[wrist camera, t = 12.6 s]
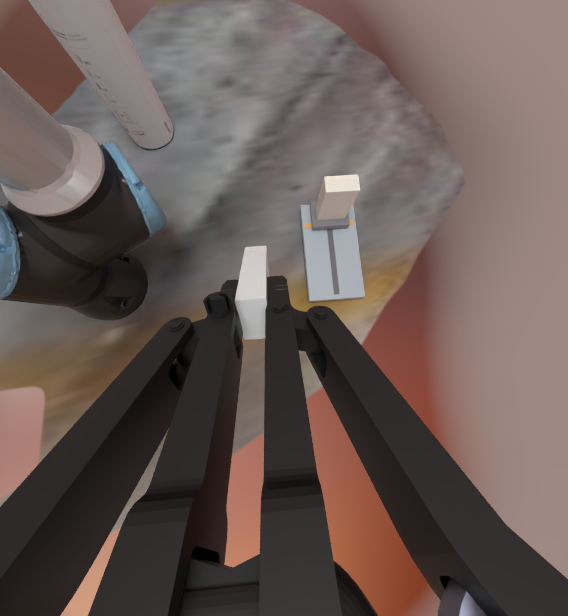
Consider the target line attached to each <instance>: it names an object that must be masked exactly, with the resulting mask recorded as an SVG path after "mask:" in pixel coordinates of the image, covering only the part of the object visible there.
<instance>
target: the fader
mask: <svg viewBox="0 0 568 616" xmlns="http://www.w3.org/2000/svg"><path fill="white" fill-rule="evenodd" d="M359 192H360V185H359V178H358V175H343V176H327V177H324V179H323V183H322V186H321V190H320V194H319V197H318V201H310V215H311V224H312V231H313V230H327V229H342V228H348V227H349V225H350V221H349V213H348V211H349V210H350V208H351V206H352V204H353V202H354V201H355V199H356V197H357V195H358V193H359Z"/></svg>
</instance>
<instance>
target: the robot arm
mask: <svg viewBox="0 0 568 616" xmlns="http://www.w3.org/2000/svg"><path fill="white" fill-rule="evenodd" d="M0 183H1V186H2V189H3V192H4V193H5V195H6V197H7V198H8V200H9V201H8V202H6V203H5V204H2V205H0V299H1V300H10V301H20V302H29V303H38V304H47V305H56V306H65V307H69V308H72V309H74V310H76V311H78V312H80V313H82V314H84V315H86V316H88V317H91V318H95V319H102V320H115V319H120V318H123V317H125V316H127V315H129V314H131V313H132V312H133V311H135V310H136V309H137V308H138V307H139V305H140V304H141V303H142V301H143V299H144V297H145V294H146V291H147V276H146V273H145V270H144V269H143V267H142V265H141V264H140V263H139V262H138V261H137V260H135V259H134V258H132V257H131V256H129V255H127V254H125V252H127V251H129V250H130V249H132V248H134V247H135V246H137V245H138V244H140V243H142V242H143V241H145V240H146V239H148V238H151V237H152V236H153V234H154V233H156V232H157V231H158V230H159V229H161V228H162V227H163V226H164V225H165V223H166V217H165V215H164V213H163V211H162V210H161V208H160V207H159V206H158V204H157V203H156V201H155V200H154V198H153V197H152V195H151V194H150V193H149V191H148V190H147V188H146V187H145V185H144V184H143V182H142V181H141V180H140V178H139V177H138V175H137V174H136V172H135V171H134V169H133V168H132V167H131V165H130V164H129V162H128V161H127V159H126V158H125V157H124V155H123V154H122V152H121V151H120V149H119V148H118V147H117V145H116V144H114V143H112V142H109V143H102V145H101V146H100V145H99V144H98V143H97V142H96V141H95V140H94V139H93V138H92V137H91V136H90V135H89V134H87V133H86V132H85V131H83V130H81V129H79V128H76V127H73V126H68V125H61V124H59V123H58V122H57V121H56V120H55V119H54V118H53V117H52V116H50V115H49V114H48V113H47V112H46V111H45V110H44V109H43V108H42V107H41V106H40V105H39V104H38V103H37V102H36V101H35V100H34V99H33V98H32V97H30V95H29V94H27V93H26V92H25V91H24V90H23V89H22V88H21V87H20V86H19V85H18V84H17V83H16V82H15V81H14V80H13V79H11V77H10V76H8V75H7V73H5V72H4V71H3V70H2V69H1V68H0ZM203 302H204V305H205V308H206V310H207V313H208V315H207V318H205V319H202V320H199V321H196V322H193V323H191V320H190V319H188V318H186V317H178V318H175V319H172V320H170V321H168V322H167V323H166V324H164V325H163V327H162V328H161V329H160V330H159V331H158V332H157V333H156V334H155V335H154V337H153V338H152V339H151V340H150V341H149V342H148V343H147V344H146V345H145V347H144V348H143V349H142V350H141V351H140V352H139V353H138V354H137V355H136V357H135V358H134V359H133V360H132V361H131V362H130V363H129V364H128V365H127V367H126V368H125V369H124V370H123V371H122V372H121V373H120V374H119V375H118V377H117V378H116V379H115V380H114V381H113V382H112V383H111V384H110V385H109V387H108V388H107V389H106V390H105V391H104V392H103V393H102V394H101V396H100V397H99V398H98V399H97V400H96V401H95V402H94V403H93V404H92V406H91V407H90V408H89V409H88V410H87V411H86V412H85V413H84V414H83V416H82V417H81V418H80V419H79V420H78V421H77V422H76V423H75V424H74V426H73V427H72V428H71V429H70V430H69V431H68V432H67V433H66V434H65V436H64V437H63V438H62V439H61V440H60V441H59V442H58V443H57V444H56V446H55V447H54V448H53V449H52V450H51V451H50V452H49V453H48V454H47V456H46V457H45V458H44V459H43V460H42V461H41V462H40V463H39V464H38V466H37V467H36V468H35V469H34V470H33V471H32V472H31V473H30V475H29V476H28V477H27V478H26V479H25V480H24V481H23V482H22V483H21V485H20V486H19V487H18V488H17V489H16V490H15V491H14V492H13V493H12V495H11V496H10V497H9V498H8V499H7V500H6V501H5V502H4V503H3V505H2V506H1V507H0V616H60V615H61V614H62V612H63V611H64V609H65V608H66V606H67V605H68V603H69V602H70V600H71V599H72V597H73V596H74V594H75V593H76V591H77V589H78V588H79V586H80V584H81V582H82V581H83V579H84V577H85V576H86V574H87V572H88V571H89V569H90V567H91V566H92V564H93V562H94V560H95V559H96V557H97V555H98V553H99V552H100V550H101V548H102V546H103V544H104V542H105V541H106V539H107V537H108V535H109V534H110V532H111V530H112V528H113V527H114V525H115V523H116V521H117V519H118V518H119V516H120V514H121V512H122V510H123V509H124V507H125V505H126V503H127V502H128V500H129V498H130V496H131V494H132V493H133V491H134V489H135V487H136V486H137V484H138V482H139V480H140V478H141V477H142V475H143V473H144V471H145V469H146V468H147V466H148V464H149V462H150V461H151V459H152V457H153V455H154V453H155V452H156V450H157V448H158V446H159V444H160V443H161V441H162V439H163V437H164V436H165V434H166V432H167V430H168V428H169V430H168V433H167V436H166V439H165V442H164V445H163V448H162V451H161V454H160V457H159V460H158V463H157V466H156V469H155V472H154V475H153V478H152V481H151V483H150V486H149V488H148V490H147V492H146V493H145V495H144V496H142V497H141V498H140V499H139V500H138V501H137V502H135V503H134V505H133V506H132V508H131V509H130V511H129V512H128V514H127V516H126V518H125V520H124V522H123V525H122V527H121V529H120V532H119V535H118V537H117V540H116V543H115V546H114V548H113V551H112V553H111V556H110V559H109V561H108V564H107V567H106V569H105V572H104V575H103V577H102V580H101V583H100V585H99V588H98V591H97V593H96V596H95V599H94V601H93V604H92V607H91V610H90V612H89V614H88V616H378V614H377V613H376V612H375V610H374V609H373V607H372V606H371V604H370V602H369V601H368V599H367V598H366V596H365V595H364V593H363V592H362V590H361V589H360V588H359V586H358V585H357V584H356V582H355V581H354V580H353V579H352V578H351V577H350V575H349V574H348V573H347V572H346V571H345V570H344V569H343V568H342V567H341V566H340V565H338V564H337V563H336V562H334V561H333V555H332V549H331V543H330V537H329V530H328V525H327V518H326V511H325V505H324V500H323V494H322V489H321V485H320V482H319V479H318V475H317V470H316V463H315V456H314V450H313V443H312V437H311V430H310V424H309V417H308V410H307V404H306V397H305V391H304V384H303V378H302V371H301V364H300V358H299V351H298V350H300V351H305V352H306V354H307V356H308V358H309V360H310V362H311V364H312V366H313V368H314V369H315V371H316V373H317V375H318V377H319V379H320V381H321V383H322V385H323V387H324V389H325V391H326V393H327V395H328V397H329V399H330V401H331V403H332V404H333V407H334V409H335V410H336V412H337V415H338V416H339V418H340V420H341V422H342V424H343V426H344V428H345V430H346V432H347V434H348V436H349V438H350V440H351V442H352V444H353V446H354V448H355V450H356V452H357V454H358V456H359V457H360V460H361V462H362V463H363V465H364V467H365V469H366V471H367V473H368V475H369V477H370V479H371V481H372V483H373V485H374V487H375V489H376V491H377V493H378V495H379V497H380V499H381V501H382V503H383V505H384V506H385V508H386V510H387V512H388V514H389V516H390V518H391V520H392V522H393V524H394V526H395V528H396V530H397V532H398V534H399V536H400V537H401V539H402V541H403V543H404V545H405V546H406V548H407V550H408V552H409V554H410V555H411V557H412V559H413V560H414V562H415V564H416V565H417V567H418V568H419V570H420V571H421V573H422V574H423V576H424V577H425V579H426V581H427V582H428V584H429V585H430V587H431V588H432V589H433V591H434V592H435V593H436V595H437V596H438V597H439V599H440V600H441V601H440V605H439V609H438V616H568V579H567V578H566V577H565V576H563V575H562V574H561V573H560V572H559V571H558V570H556V569H555V568H554V567H553V566H552V565H551V564H550V563H548V562H547V561H546V560H545V559H544V558H543V557H542V556H541V555H540V554H538V553H537V552H536V551H535V550H534V549H533V548H532V547H530V546H529V545H528V544H527V543H526V542H525V541H524V540H523V539H521V538H520V537H519V536H518V535H517V534H516V533H515V532H513V531H512V530H511V529H510V528H509V527H508V526H507V525H506V524H505V523H504V522H503V521H502V519H501V518H500V517H499V516H498V514H497V513H496V512H495V511H494V509H493V508H492V507H491V506H490V504H488V502H487V501H486V499H485V498H484V497H483V496H482V494H481V493H480V492H479V491H478V490H477V489H476V487H475V486H474V485H473V483H472V482H471V481H470V480H469V479H468V477H467V476H466V475H465V473H464V472H463V471H462V470H461V468H460V467H459V466H458V465H457V464H456V462H455V461H454V460H453V459H452V458H451V456H450V455H449V454H448V452H447V451H446V450H445V449H444V448H443V446H442V445H441V444H440V443H439V441H438V440H437V439H436V438H435V436H434V435H433V434H432V433H431V431H430V430H429V429H428V428H427V426H426V425H425V424H424V423H423V421H422V420H421V419H420V418H419V417H418V415H417V414H416V413H415V412H414V410H413V409H412V408H411V407H410V405H409V404H408V403H407V402H406V400H405V399H404V398H403V397H402V395H401V394H400V393H399V392H398V391H397V389H396V388H395V387H394V386H393V384H392V383H391V382H390V381H389V379H388V378H387V377H386V376H385V374H384V373H383V372H382V371H381V370H380V368H379V367H378V366H377V365H376V363H375V362H374V361H373V360H372V359H371V357H370V356H369V355H368V353H367V352H366V351H365V350H364V348H363V347H362V346H361V345H360V343H359V342H358V341H357V340H356V339H355V337H354V336H353V335H352V334H351V332H350V331H349V330H348V329H347V327H346V326H345V325H344V324H343V322H342V321H341V320H340V319H339V317H338V316H337V315H336V314H335V313H334V311H333V310H331V309H330V308H328V307H326V306H314V307H312V308H310V309H309V310H308V312H302V311H298V310H296V309H294V308H293V307H292V306H291V304H290V299H289V292H288V285H287V280H286V279H285V277H284V276H272V277H269V270H268V260H267V250H266V246H255V247H245V252H244V257H243V262H242V267H241V272H240V276H239V280H227V281H226V282H225V283H224V284H223V285H222V288H221V291H220V292H216V293H212V294H210V295H208V296H207V297H205V299H204V300H203ZM242 335H243V338H244V340H250V339H262V338H265V412H264V483H263V488H262V496H261V527H260V528H261V529H260V554H259V555H257V556H255V557H253V558H251V559H249V560H247V561H245V562H243V563H241V564H239V565H237V566H236V567H234V568H232V567H229V566H226V565H224V562H225V552H226V542H227V513H226V504H227V493H228V483H229V475H230V465H231V457H232V448H233V438H234V429H235V420H236V411H237V401H238V392H239V383H240V374H241V364H242V355H243V343H242ZM175 359H176V361H175ZM174 361H175V362H174ZM173 362H174V363H173Z"/></svg>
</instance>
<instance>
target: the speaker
mask: <svg viewBox="0 0 568 616" xmlns="http://www.w3.org/2000/svg"><path fill="white" fill-rule="evenodd" d="M28 1H29V2H30V3H31V5H32V6H33V7H34V9H35V10H36V11H37V13H38V14H39V15H40V17H41V18H42V19H43V21H44V22H45V23H46V25H47V26H48V27H49V29H50V30H51V31H52V33H53V34H54V35H55V37H56V38H57V39H58V41H59V42H60V43H61V44H62V46H63V47H64V49H65V50H66V51H67V52H68V54H69V55H70V56H71V58H72V59H73V60H74V62H75V63H76V65H77V66H78V67H79V69H80V70H81V71H82V73H83V74H84V75H85V77H86V78H87V79H88V81H89V82H90V83H91V85H92V86H93V87H94V89H95V90H96V91H97V93H98V94H99V95H100V97H101V98H102V99H103V101H104V102H105V103H106V105H107V106H108V107H109V109H110V110H111V111H112V113H113V114H114V115H115V116H116V118H117V119H118V120H119V122H120V123H121V124H122V126H123V127H124V128H125V130H126V131H127V132H128V134H129V135H130V136H131V138H132V139H133V140H134V142H135V143H136V144H137V145H139V146H140V147H143V148H145V149H159V148H161V147H163V146H165V145H166V144H167V143H168V142H169V141H170V140H171V139H172V136H173V132H174V128H173V124H172V122H171V120H170V118H169V116H168V114H167V112H166V110H165V108H164V106H163V104H162V102H161V100H160V98H159V96H158V94H157V92H156V90H155V88H154V87H153V85H152V83H151V81H150V79H149V77H148V75H147V73H146V71H145V69H144V67H143V65H142V63H141V61H140V59H139V57H138V55H137V53H136V51H135V49H134V47H133V45H132V43H131V41H130V39H129V37H128V35H127V34H126V32H125V30H124V28H123V26H122V24H121V22H120V20H119V18H118V16H117V14H116V12H115V10H114V8H113V6H112V4H111V2H110V0H28Z"/></svg>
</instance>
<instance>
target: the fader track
mask: <svg viewBox="0 0 568 616" xmlns="http://www.w3.org/2000/svg"><path fill="white" fill-rule="evenodd" d="M348 213H349V221H350V225H349V227H348V228H342V229H327V230H313V231H312V224H311V215H310V205H300V219H301V229H302V240H303V251H304V261H305V272H306V282H307V293H308V302H320V301H333V300H345V299H358V298H363V297H365V294H364V286H363V278H362V270H361V262H360V255H359V247H358V239H357V231H356V223H355V215H354V207H353V204H352V206H351V208H350V210H349V211H348Z"/></svg>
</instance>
